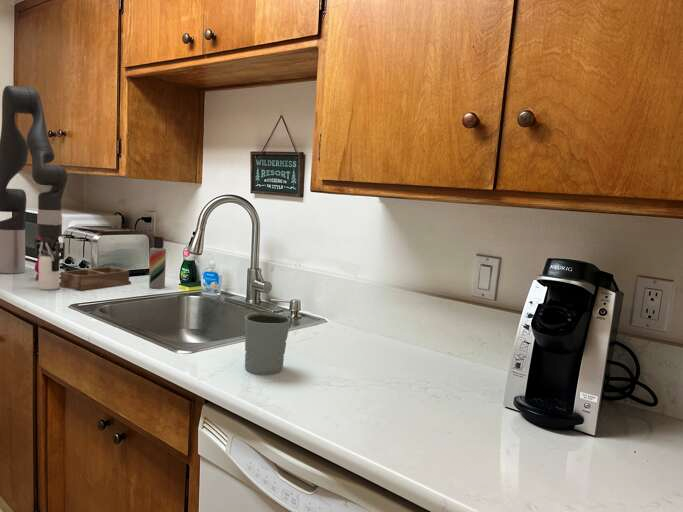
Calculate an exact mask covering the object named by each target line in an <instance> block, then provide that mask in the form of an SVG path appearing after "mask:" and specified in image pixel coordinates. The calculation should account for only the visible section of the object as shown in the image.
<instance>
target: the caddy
mask: <svg viewBox="0 0 683 512" xmlns="http://www.w3.org/2000/svg"><path fill="white" fill-rule="evenodd" d="M131 284H132V281H131V280H130V270H128V269H122V268H118V267H111V266H104V267H96V268H95V267H93V268H85V269H75V270H67V271H66V270H64V271H60V287H62V288H66V289H70V290H73V291H74V290H75V291H78V292H85V291H91V290H92V291H93V290H99V289H106V288H114V287H115V288H116V287H121V286H127V285H129V286H130V285H131Z"/></svg>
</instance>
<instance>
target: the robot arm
mask: <svg viewBox="0 0 683 512" xmlns="http://www.w3.org/2000/svg"><path fill="white" fill-rule="evenodd" d="M1 100H2V101H1V132H0V213H1V212H2V213H14V215H13V216H11V217H9V218H6V219H4V220H1V221H0V274H21V273H25V272H26V213H27V212H26V210H27V194H26V192H25V190H24V189H22V188H21V189H20V188H8V186H9V183H10V181H12V179H13V178H14V177H15V176H16V175H17V174H19V173H20V172H21V171H22V170H23V169H24V167H25V166H26V165H27V163H28V157H29V154H30V156H31V165H32V166H31V170H32V171H31V177H32V180H33V181H34V182H35V183H36V184H38V185H40V186H51V188H50V190H49V191H44V192H40V193H39V194H38V195H37V196H38V198H37V217H36V218H37V219H36V220H37V221H36V222H37V225H36V227H37V228H36V231H37V232H36V236H37V235H38V236H40V237H41V239H37V238H35V239H34V251H35V256H38V258H40V255H41V254H44V253H45V254H48V253H49V255H51V258H52V271H54V272H55V271H59V261H60V262H61V260H64V259H65V250H66V248H65V247H66V243H65V242H60V240H59V238H60V237H62V235H63V215H62V198H63V194H64V191H65V188H66V185H67V182H68V173H67V170H66V169H65V167H63V166H61V165H52V164H50V163H52V162H53V161H54V160H55V153H54V149H53V147H52V144H51V141H50V138H49V135H48V131H47V125H46V118H45V115H44V108H43V104H42V103H43V102H42V100H41V96H40V93H39V92H38V90H37V89H35V88H33V87H26V86H18V85H6V86H5V87H4V89H3V91H2V95H1ZM16 114H25V115H31V117H32V124H31V126H30V128H29V131H28V132H27V135H26V139H25V137H24V135H23V134H22V132H21V130H20V129H19V126H18V125H17V122H16ZM54 255H55V256H54Z"/></svg>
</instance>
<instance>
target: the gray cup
mask: <svg viewBox="0 0 683 512" xmlns="http://www.w3.org/2000/svg"><path fill="white" fill-rule="evenodd" d="M290 323H291V318H290V317H288V316H285V315H283V314H279V313H271V312H256V313H255V312H253V313H249V314H246V315H245V316H244V336H245V341H244V346H245V347H244V348H245V349H244V351H245V355H244V369H245V371H246V372H248V373H249V374H253V375H259V376H272V375H276V374H279V373H280V372H282V370H283V368H284V367H283V366H284V358H285V353H286V346H287V342H286V341H287V340H288V339H287V338H288V334H289V328H290Z"/></svg>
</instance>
